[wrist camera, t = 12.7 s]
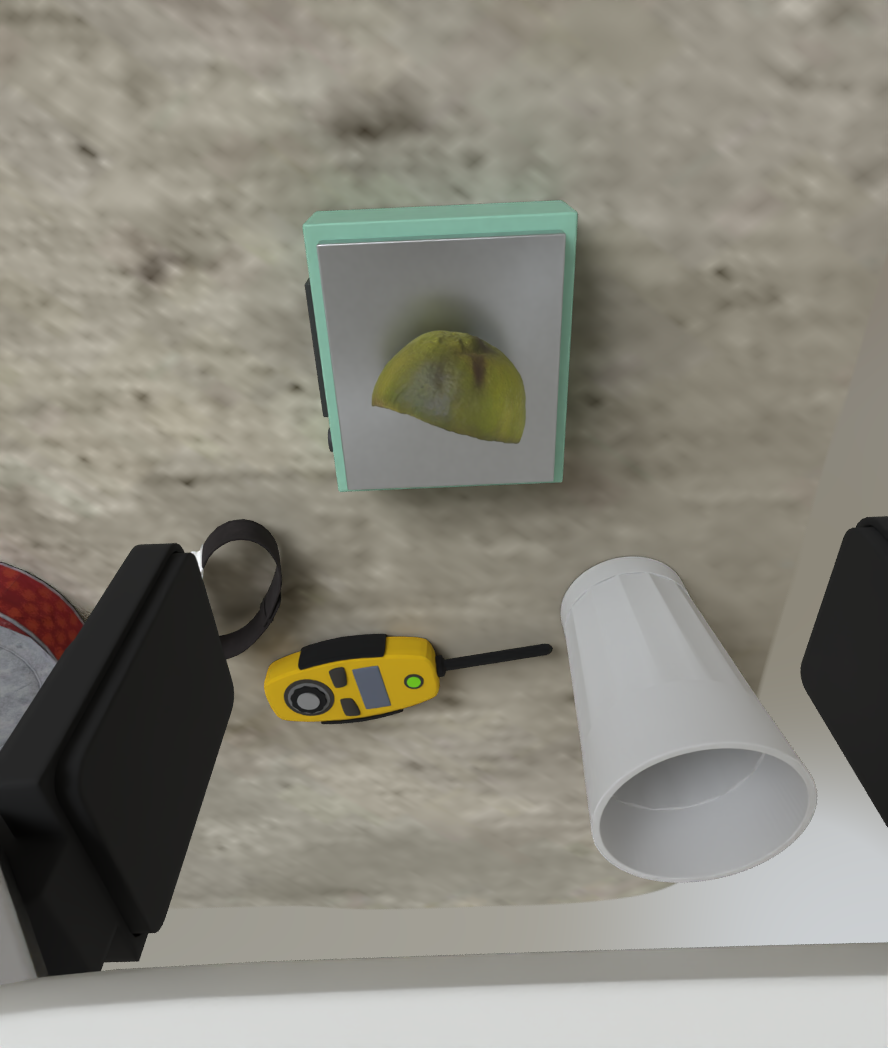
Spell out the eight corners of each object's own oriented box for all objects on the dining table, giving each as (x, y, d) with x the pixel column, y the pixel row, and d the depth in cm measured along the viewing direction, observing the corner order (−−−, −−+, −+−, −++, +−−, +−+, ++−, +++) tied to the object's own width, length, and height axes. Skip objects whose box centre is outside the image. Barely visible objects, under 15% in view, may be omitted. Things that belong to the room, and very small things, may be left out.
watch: (206, 495, 31) (182, 539, 28) (307, 529, 32) (294, 575, 29) (171, 618, 35) (146, 669, 32) (262, 645, 36) (246, 697, 33)
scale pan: (319, 240, 23) (315, 244, 22) (562, 229, 23) (566, 233, 22) (349, 481, 28) (347, 490, 27) (550, 472, 27) (554, 482, 27)
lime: (530, 409, 25) (550, 472, 21) (405, 448, 26) (400, 518, 22) (495, 289, 23) (509, 333, 19) (359, 337, 24) (344, 390, 19)
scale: (306, 211, 25) (292, 224, 22) (563, 199, 25) (578, 211, 22) (339, 459, 30) (331, 492, 28) (551, 450, 30) (562, 483, 28)
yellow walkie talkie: (250, 674, 34) (550, 627, 33) (258, 648, 36) (544, 602, 35) (280, 739, 37) (561, 698, 36) (287, 712, 39) (555, 671, 37)
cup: (704, 651, 37) (810, 866, 26) (555, 677, 37) (602, 895, 27) (701, 527, 33) (825, 725, 22) (533, 559, 33) (579, 764, 23)
